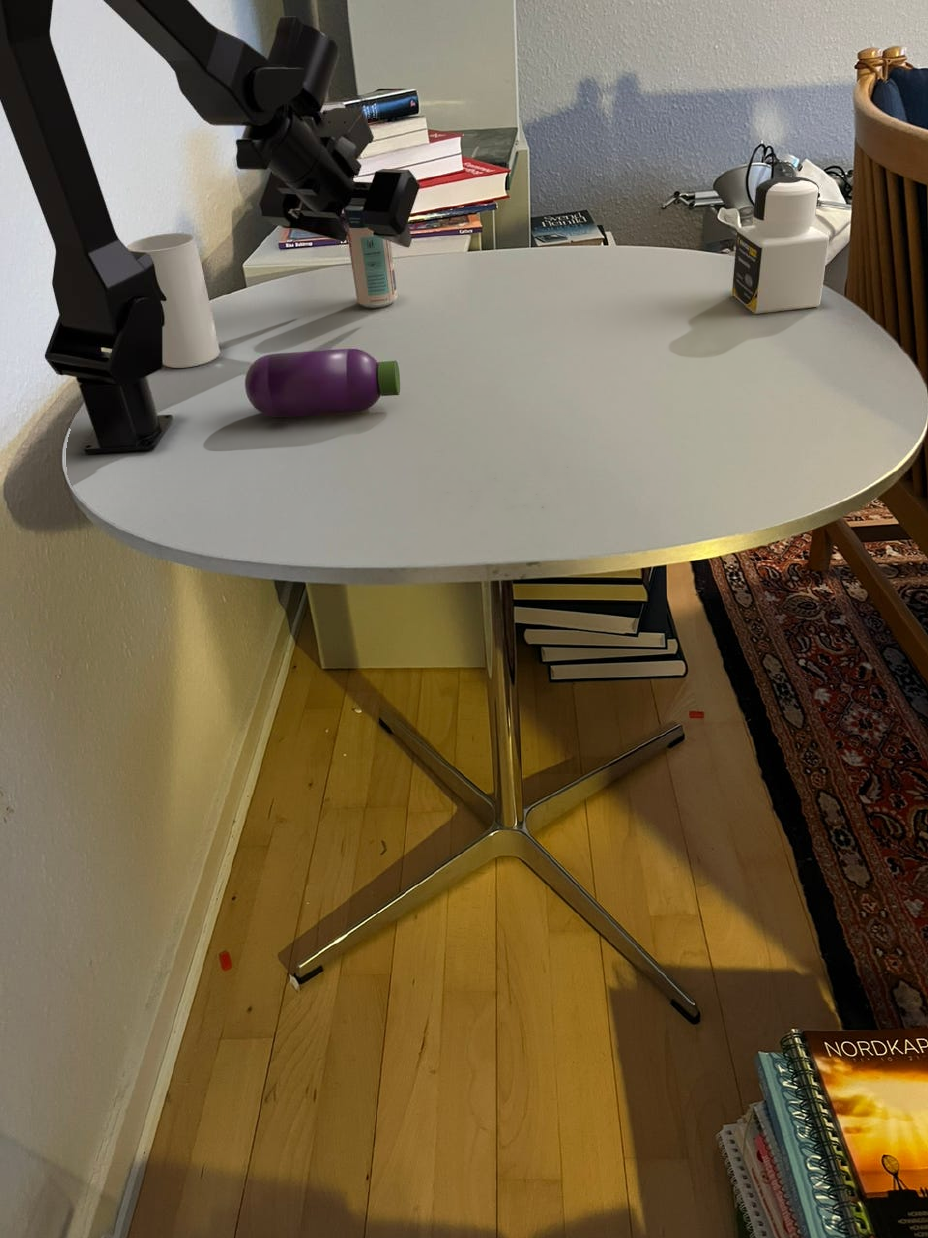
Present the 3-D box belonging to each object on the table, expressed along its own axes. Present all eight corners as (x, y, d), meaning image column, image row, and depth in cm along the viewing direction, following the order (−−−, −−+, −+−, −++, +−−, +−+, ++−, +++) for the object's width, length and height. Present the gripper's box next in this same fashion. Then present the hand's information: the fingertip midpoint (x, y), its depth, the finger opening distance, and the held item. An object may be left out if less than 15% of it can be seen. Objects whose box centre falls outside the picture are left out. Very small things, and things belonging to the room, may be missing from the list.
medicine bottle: (730, 294, 104) (740, 176, 97) (793, 287, 104) (808, 169, 97) (753, 315, 98) (766, 191, 91) (820, 307, 98) (838, 183, 91)
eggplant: (259, 404, 90) (246, 346, 86) (404, 394, 89) (396, 336, 85) (246, 429, 85) (232, 369, 82) (398, 419, 84) (390, 359, 81)
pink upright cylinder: (380, 294, 114) (365, 187, 107) (406, 300, 112) (393, 191, 105) (349, 305, 112) (332, 197, 105) (375, 312, 109) (359, 201, 102)
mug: (218, 365, 99) (189, 246, 92) (154, 372, 99) (120, 254, 92) (229, 333, 107) (203, 222, 100) (170, 340, 107) (140, 229, 100)
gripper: (397, 81, 91) (467, 178, 105) (254, 83, 100) (336, 173, 113) (360, 188, 90) (435, 272, 104) (220, 180, 99) (306, 259, 113)
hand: (376, 240), depth 109 cm, fingers open, 9 cm apart
